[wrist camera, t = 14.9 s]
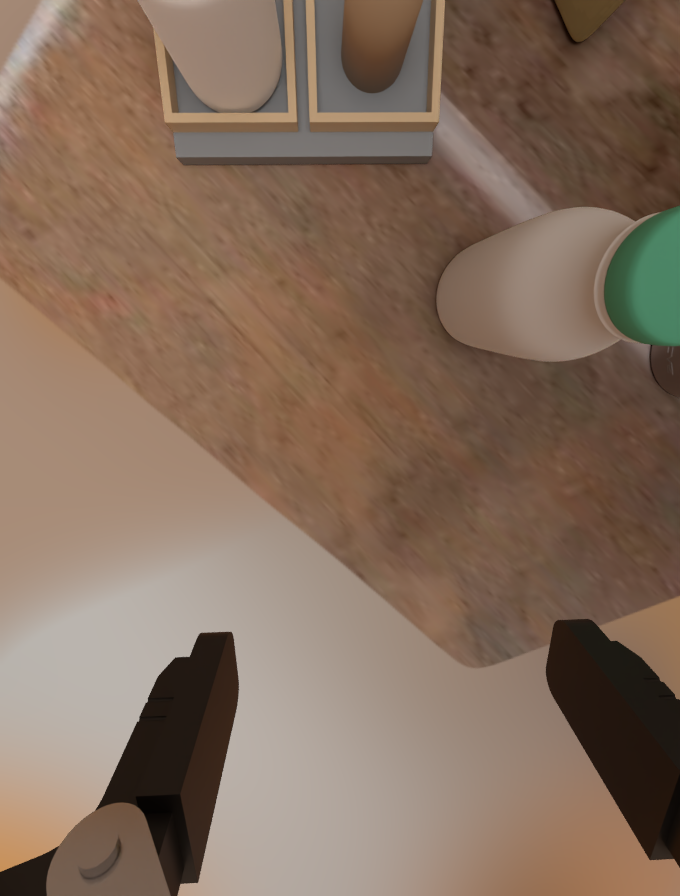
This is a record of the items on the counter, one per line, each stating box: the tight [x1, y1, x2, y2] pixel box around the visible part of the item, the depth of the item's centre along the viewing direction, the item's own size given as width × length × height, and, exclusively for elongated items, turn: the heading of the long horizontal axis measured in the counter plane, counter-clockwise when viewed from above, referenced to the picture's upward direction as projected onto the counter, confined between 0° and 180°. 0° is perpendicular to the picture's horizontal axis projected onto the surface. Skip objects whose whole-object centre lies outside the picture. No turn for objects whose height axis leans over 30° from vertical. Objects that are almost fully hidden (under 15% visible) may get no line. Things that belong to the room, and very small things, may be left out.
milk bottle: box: [436, 206, 680, 362], centre depth 23 cm, size 8×8×20 cm
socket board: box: [153, 0, 445, 165], centre depth 23 cm, size 17×11×10 cm, turn 91°
